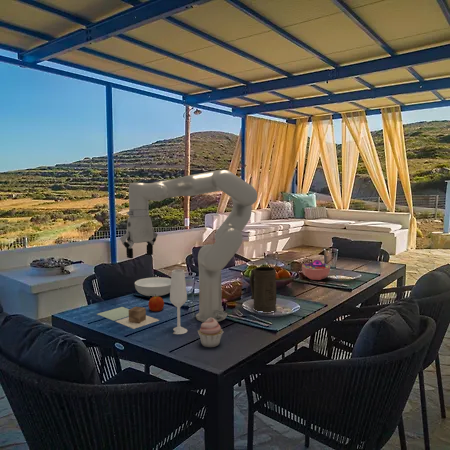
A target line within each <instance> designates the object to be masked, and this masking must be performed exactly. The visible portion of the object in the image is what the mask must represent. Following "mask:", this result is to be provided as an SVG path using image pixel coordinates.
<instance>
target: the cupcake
mask: <svg viewBox="0 0 450 450" xmlns="http://www.w3.org/2000/svg"><path fill="white" fill-rule="evenodd" d="M223 333H224V331H223V328H222V327H221V325H220V323H219V322H217V321H216V320H215V319H214V318H208V319H207V320H206V322H202V323H201V324H200V327H199V329H198V330H197V334H198V335H199V339H200V343H201V345H202V346H203V347H205V348H216V347H218V346H219V345H220V342H221V338H222V336H223Z"/></svg>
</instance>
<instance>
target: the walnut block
mask: <svg viewBox="0 0 450 450" xmlns="http://www.w3.org/2000/svg"><path fill="white" fill-rule="evenodd" d="M128 311H129V316H128V317H129V322H133V323H141V322H143V321H144V320H146V315H147V311H146V307H142V306H134V307H131V308H130V310H128Z"/></svg>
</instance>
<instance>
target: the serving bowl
mask: <svg viewBox="0 0 450 450" xmlns="http://www.w3.org/2000/svg"><path fill="white" fill-rule="evenodd" d="M134 287H135V290H136V291H137V292H138V293H139V294H141V295H143V296H146V297H150V296H152V297H156V296H158V297H162V296H165V295H168V294H170V289H171V278H169V277H158V276H156V277H146V278H140V279H137V280H136V281H134ZM155 294H156V296H155ZM152 297H151V298H152Z"/></svg>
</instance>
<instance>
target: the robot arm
mask: <svg viewBox="0 0 450 450" xmlns="http://www.w3.org/2000/svg"><path fill="white" fill-rule="evenodd" d="M221 191H222V193H225V194H226V195H227V196H229V197H230V198H231V201H232V209H231V211H230V212H229V214H228V215H227V217H226V218H225V220H224V221H223V222H222V223H221V225H220V226H219V227H218V228H217V230H216V232H215V234H214V239H215V242H214V243H213V244H209V243H208V244H205V245H203V246H202V247H200V249H199V251H198V254H197V263H198V291H199V292H198V299H199V301H198V303H199V304H198V305H199V307H198V309H199V312H198V313H196V314H195V319H196V320H197V321H199V322H202V323H204V322H206V320H207V319H208V318H214V319H215V320H216V321H217V322H218V323H219V322H221V321H223V320H226V318H227V316H228V313H227V312H224V308H223V307H222V306H223V305H222V304H223V303H222V302H223V301H222V280H223V279H222V270H223V269H224V268H225V267H227V265H228V263H229V262H230V261H231V260H232V258H233V257H234V256H235V254H236V253H237V252H238V250H239V249H240V248H241V246H242V244H243V240H244V237H243V234H242V232H243V230H244V229H245V227H246V226H247V224H248V223H249V221H250V219H251V216H252V212H253V209H252V206H253V205H254V204H255V203H256V202H257V200H258V192H257V189H255V187H254V186H252V185H251V184H249V183H248V182H246V181H245V180H243V179H242V178H241V177H239V176H238V175H237V174H235V173H233V172H232V171H230V170H227V169H219V170H218V169H217V170H212V171H207V172H202V173H195V174H189V175H185V176H182V177H178V178H172V179H167V180H161V181H154V182H149V183H146V182H131V183H129V185H128V209H129V210H128V211H127V212H126V214H127V216H129V217H128V218H127V223H126V233H125V234H124V235H122V236H121V237H120V238H119V239H120V241H121V243H122V245H123V246H124V248H125V249H126V258H127V259H133V258H134V250H133V246H134V244H141V243H146V255H150V256H152V255H154V253H153V252H154V250H153V249H154V245H155V242H156V240H157V238H158V233H157V232H155V231H154V229H153V223H152V217H151V216H149V215H150V214H149V201H154V202H161V201H164V200H165V199H171V198H175V197H176V198H177V197H194V196H198V195H199V196H200V195H204V194H209V193H217V192H221Z"/></svg>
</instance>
